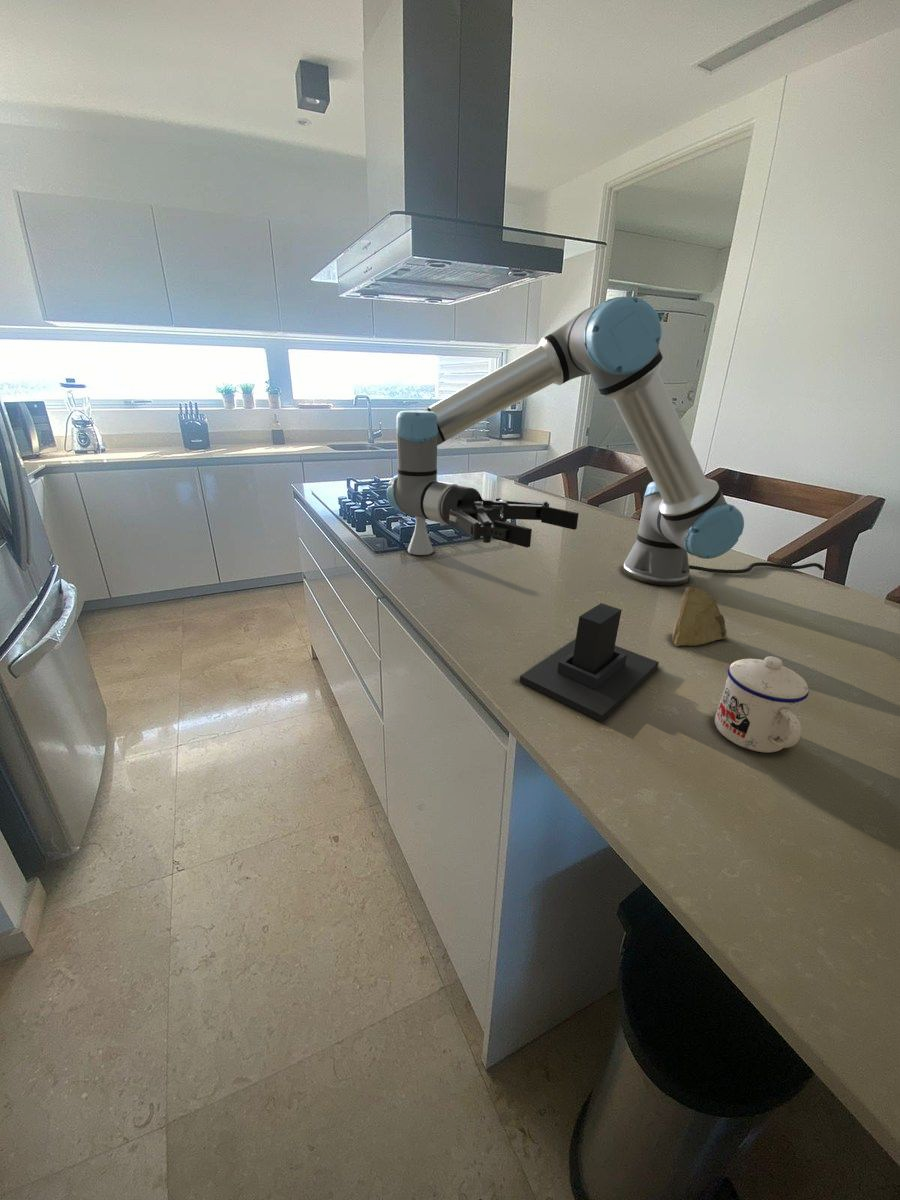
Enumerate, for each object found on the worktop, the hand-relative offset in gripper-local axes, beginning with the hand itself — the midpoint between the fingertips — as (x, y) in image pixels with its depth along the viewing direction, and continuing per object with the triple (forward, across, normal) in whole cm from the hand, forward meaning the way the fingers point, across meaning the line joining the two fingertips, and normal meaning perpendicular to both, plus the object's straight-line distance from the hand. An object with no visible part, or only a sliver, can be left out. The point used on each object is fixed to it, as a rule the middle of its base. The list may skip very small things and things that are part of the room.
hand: (554, 529), depth 76 cm
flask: (-54, -22, -22) cm, 62 cm away
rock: (+18, -25, -23) cm, 39 cm away
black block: (+10, 0, -21) cm, 23 cm away
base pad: (+10, 0, -22) cm, 24 cm away
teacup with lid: (+33, -1, -23) cm, 40 cm away
